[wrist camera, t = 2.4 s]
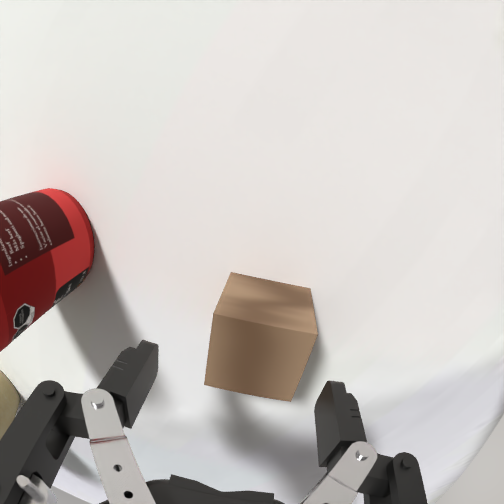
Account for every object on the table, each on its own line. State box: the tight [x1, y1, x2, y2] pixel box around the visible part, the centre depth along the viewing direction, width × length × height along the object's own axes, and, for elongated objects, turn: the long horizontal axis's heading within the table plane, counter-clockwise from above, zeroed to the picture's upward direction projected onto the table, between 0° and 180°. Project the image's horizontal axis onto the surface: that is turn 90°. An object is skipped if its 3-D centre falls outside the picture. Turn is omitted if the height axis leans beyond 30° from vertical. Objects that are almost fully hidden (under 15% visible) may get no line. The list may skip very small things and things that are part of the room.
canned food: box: [0, 188, 94, 351], centre depth 13 cm, size 8×8×11 cm
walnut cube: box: [204, 272, 318, 402], centre depth 16 cm, size 5×5×5 cm
